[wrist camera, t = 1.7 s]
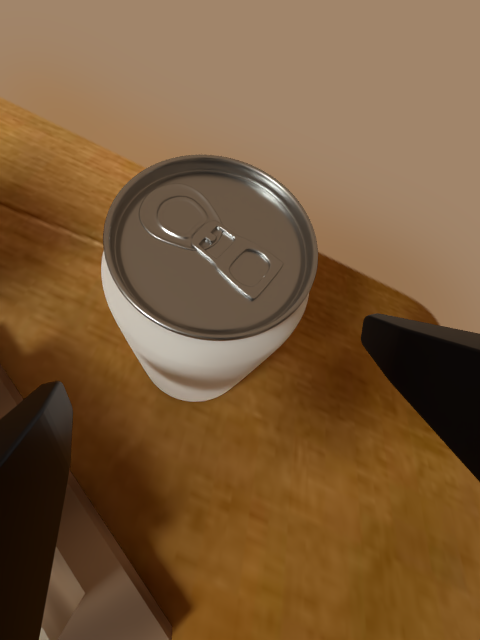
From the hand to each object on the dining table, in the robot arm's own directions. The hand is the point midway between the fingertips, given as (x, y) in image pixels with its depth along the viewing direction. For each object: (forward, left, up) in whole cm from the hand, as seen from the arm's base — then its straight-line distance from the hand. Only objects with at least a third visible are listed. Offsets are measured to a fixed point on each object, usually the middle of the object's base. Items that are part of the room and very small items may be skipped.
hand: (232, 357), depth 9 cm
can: (+3, -1, -10) cm, 11 cm away
